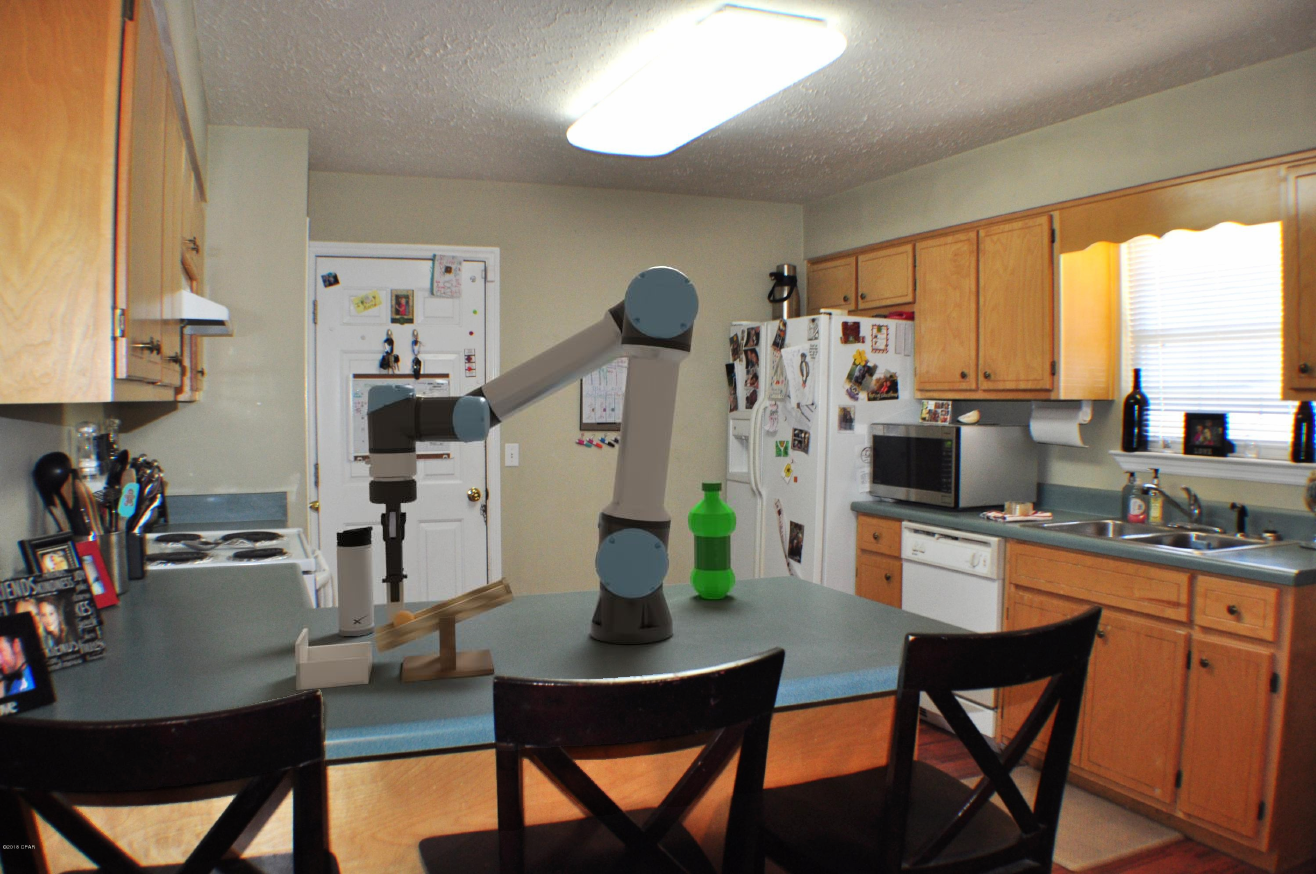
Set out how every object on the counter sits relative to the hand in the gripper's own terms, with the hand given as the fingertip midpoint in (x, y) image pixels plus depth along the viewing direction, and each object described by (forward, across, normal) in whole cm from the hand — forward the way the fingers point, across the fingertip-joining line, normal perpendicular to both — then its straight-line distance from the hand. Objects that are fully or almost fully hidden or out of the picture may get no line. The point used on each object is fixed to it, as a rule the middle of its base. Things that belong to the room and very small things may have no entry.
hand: (395, 619), depth 141 cm
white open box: (+7, +6, -9) cm, 13 cm away
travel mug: (+7, -21, -8) cm, 23 cm away
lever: (-1, +3, +8) cm, 9 cm away
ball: (-1, +6, +2) cm, 6 cm away
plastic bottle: (+7, -28, +65) cm, 71 cm away
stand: (+7, +6, +8) cm, 12 cm away
